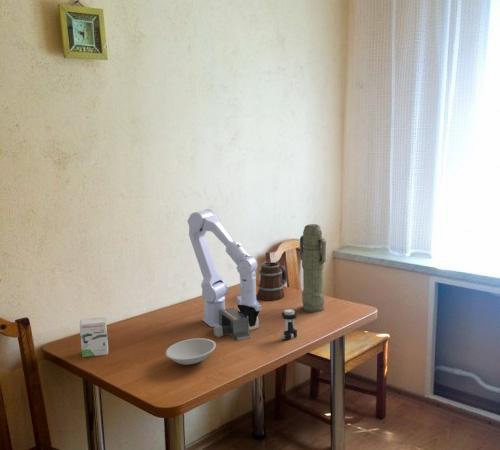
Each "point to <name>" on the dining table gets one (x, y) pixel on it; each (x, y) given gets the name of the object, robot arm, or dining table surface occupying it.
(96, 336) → the ink box
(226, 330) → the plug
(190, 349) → the dish
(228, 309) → the motor housing
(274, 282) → the mug
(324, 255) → the thermos
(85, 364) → the dining table surface
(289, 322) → the push button
